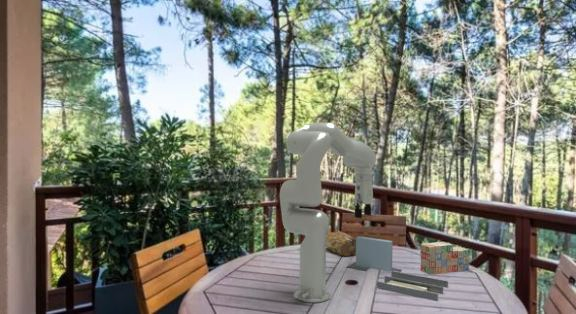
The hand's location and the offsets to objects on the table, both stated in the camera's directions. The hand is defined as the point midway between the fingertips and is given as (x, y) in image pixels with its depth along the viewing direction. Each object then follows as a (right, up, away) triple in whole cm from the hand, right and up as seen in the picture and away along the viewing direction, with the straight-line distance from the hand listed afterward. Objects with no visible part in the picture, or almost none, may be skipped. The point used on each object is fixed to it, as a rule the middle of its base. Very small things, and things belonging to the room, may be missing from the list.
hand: (363, 216), depth 173 cm
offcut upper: (+11, -23, -29) cm, 38 cm away
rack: (+15, -24, -25) cm, 38 cm away
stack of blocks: (+36, -24, -2) cm, 44 cm away
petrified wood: (-6, -24, +28) cm, 37 cm away
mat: (+5, -24, 0) cm, 24 cm away
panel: (+5, -23, 0) cm, 24 cm away
